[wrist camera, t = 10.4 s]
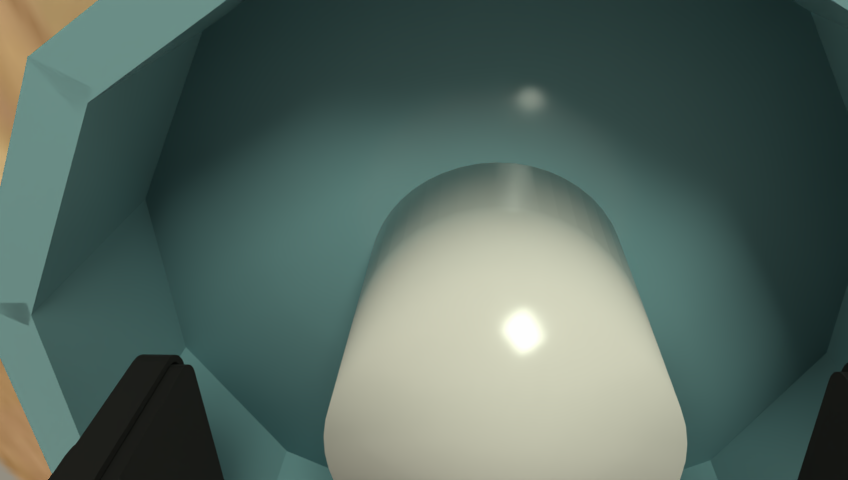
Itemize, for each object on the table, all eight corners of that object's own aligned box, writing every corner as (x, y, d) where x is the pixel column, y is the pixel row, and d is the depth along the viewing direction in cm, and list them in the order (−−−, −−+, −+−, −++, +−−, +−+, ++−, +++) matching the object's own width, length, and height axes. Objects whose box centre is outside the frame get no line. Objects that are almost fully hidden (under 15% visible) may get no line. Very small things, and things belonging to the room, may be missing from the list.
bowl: (1015, -189, 10) (1386, -223, 6) (790, 511, 18) (885, 711, 14) (34, -135, 12) (-219, -131, 7) (214, 495, 19) (140, 673, 15)
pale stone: (637, 160, 13) (715, 310, 8) (611, 377, 15) (662, 577, 11) (359, 164, 13) (301, 309, 9) (379, 375, 15) (343, 565, 11)
